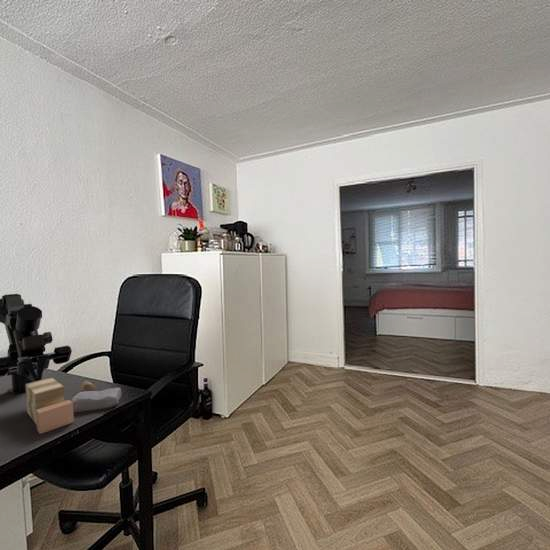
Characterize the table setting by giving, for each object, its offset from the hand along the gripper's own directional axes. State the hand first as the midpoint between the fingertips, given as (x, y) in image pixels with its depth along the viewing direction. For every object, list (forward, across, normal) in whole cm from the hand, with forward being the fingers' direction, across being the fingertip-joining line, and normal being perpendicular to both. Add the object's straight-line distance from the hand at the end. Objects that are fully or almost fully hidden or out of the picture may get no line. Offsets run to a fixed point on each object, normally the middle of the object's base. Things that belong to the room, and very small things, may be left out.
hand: (38, 384), depth 87 cm
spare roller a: (+3, +12, +6) cm, 13 cm away
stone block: (+12, +12, -2) cm, 17 cm away
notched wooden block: (+9, 0, 0) cm, 9 cm away
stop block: (+16, 0, -6) cm, 17 cm away
